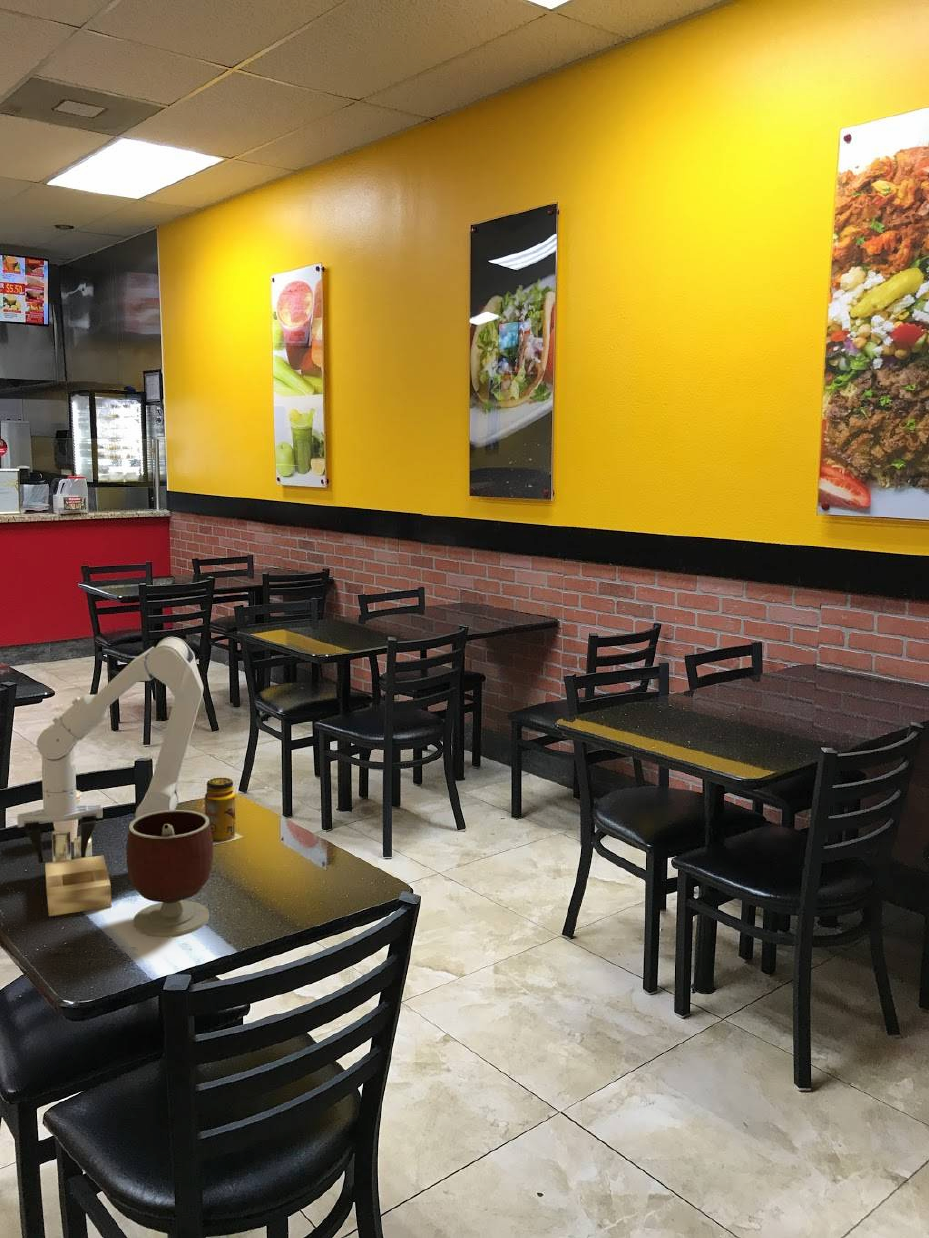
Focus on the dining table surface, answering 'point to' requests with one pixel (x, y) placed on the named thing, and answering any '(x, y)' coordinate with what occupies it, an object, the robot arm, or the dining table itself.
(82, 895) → the pin block
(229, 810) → the condiment
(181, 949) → the dining table surface
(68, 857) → the tall pin
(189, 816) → the mate gourd
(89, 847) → the short pin
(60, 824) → the smoothie
